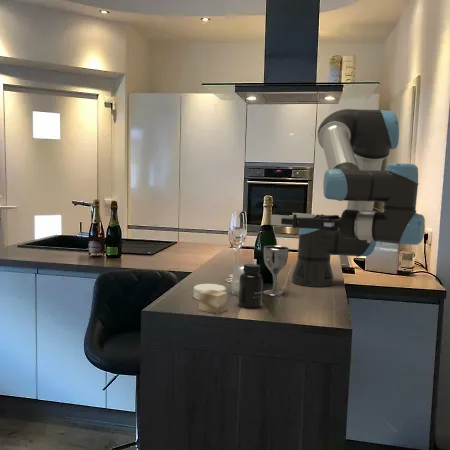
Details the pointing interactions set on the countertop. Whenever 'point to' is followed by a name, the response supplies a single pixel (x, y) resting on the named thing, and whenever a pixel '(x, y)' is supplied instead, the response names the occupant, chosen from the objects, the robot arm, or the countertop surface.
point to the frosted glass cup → (236, 278)
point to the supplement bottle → (250, 287)
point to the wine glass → (275, 264)
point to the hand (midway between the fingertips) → (282, 218)
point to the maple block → (213, 301)
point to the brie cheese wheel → (205, 287)
